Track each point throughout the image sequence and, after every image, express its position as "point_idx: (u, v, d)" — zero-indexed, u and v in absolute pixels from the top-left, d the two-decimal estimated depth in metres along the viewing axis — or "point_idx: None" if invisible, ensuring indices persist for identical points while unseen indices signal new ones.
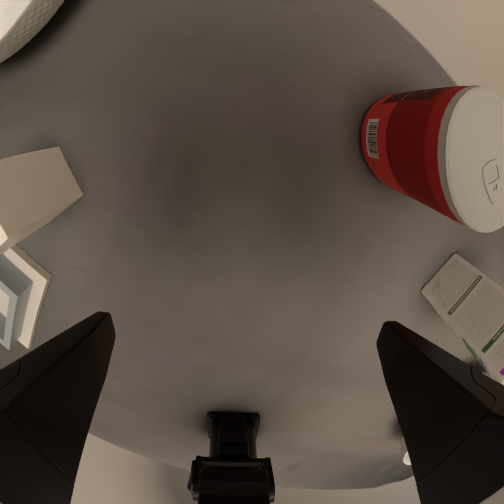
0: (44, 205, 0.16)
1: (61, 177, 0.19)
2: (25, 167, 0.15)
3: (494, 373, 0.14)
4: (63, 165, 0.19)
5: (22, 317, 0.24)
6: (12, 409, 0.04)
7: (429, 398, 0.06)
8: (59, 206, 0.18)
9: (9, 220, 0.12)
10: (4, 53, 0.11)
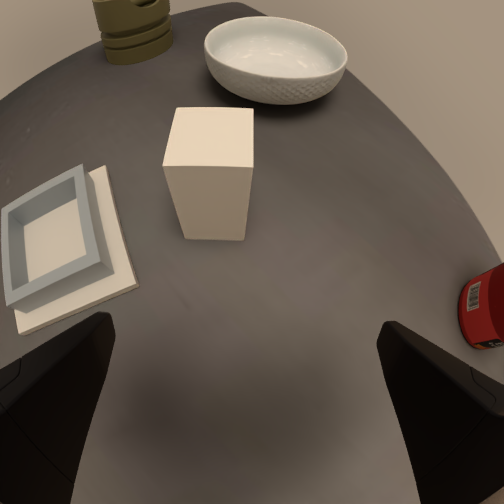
0: None
1: None
2: None
3: None
4: None
5: (57, 295, 0.20)
6: (12, 409, 0.04)
7: (429, 398, 0.06)
8: (246, 218, 0.21)
9: None
10: (262, 90, 0.26)
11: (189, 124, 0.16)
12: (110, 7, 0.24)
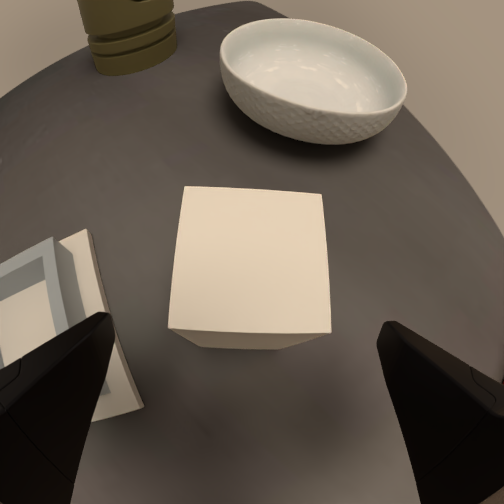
0: None
1: None
2: None
3: None
4: None
5: None
6: (12, 409, 0.04)
7: (429, 398, 0.06)
8: (291, 344, 0.14)
9: None
10: (305, 126, 0.19)
11: (209, 228, 0.10)
12: (96, 3, 0.17)
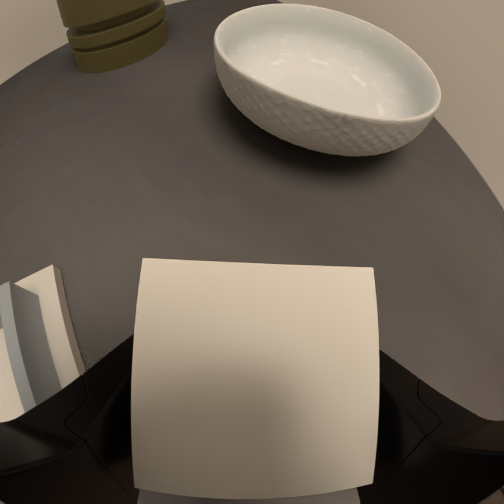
0: None
1: None
2: None
3: None
4: None
5: None
6: (87, 437, 0.04)
7: None
8: None
9: None
10: (323, 134, 0.14)
11: (186, 342, 0.05)
12: None
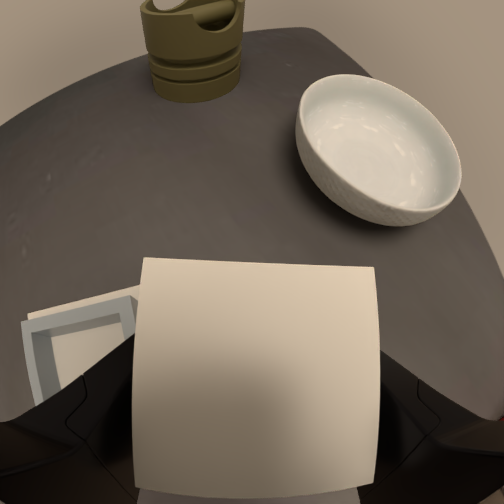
0: None
1: None
2: None
3: None
4: None
5: None
6: (87, 437, 0.04)
7: None
8: None
9: None
10: (371, 214, 0.21)
11: (187, 341, 0.05)
12: (165, 24, 0.20)
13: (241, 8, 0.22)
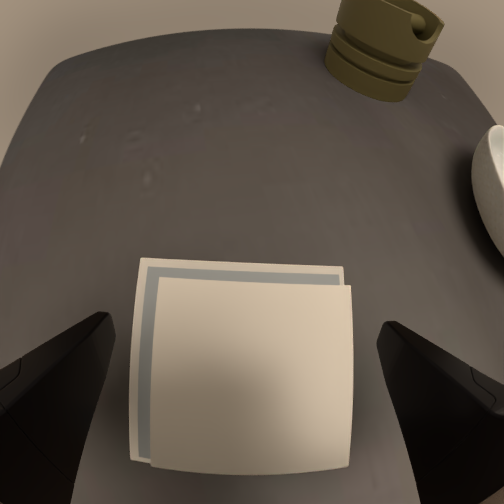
0: None
1: None
2: None
3: None
4: None
5: None
6: (12, 409, 0.04)
7: (429, 398, 0.06)
8: None
9: None
10: None
11: (195, 345, 0.07)
12: (381, 11, 0.17)
13: (441, 29, 0.18)
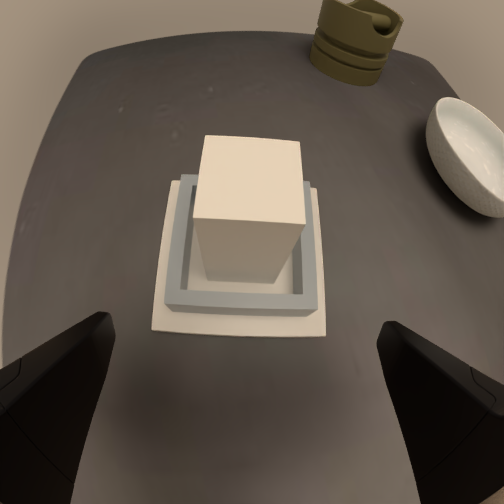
0: None
1: None
2: None
3: None
4: None
5: (232, 313, 0.20)
6: (12, 409, 0.04)
7: (429, 398, 0.06)
8: None
9: None
10: (473, 194, 0.23)
11: (222, 159, 0.14)
12: (348, 15, 0.25)
13: None
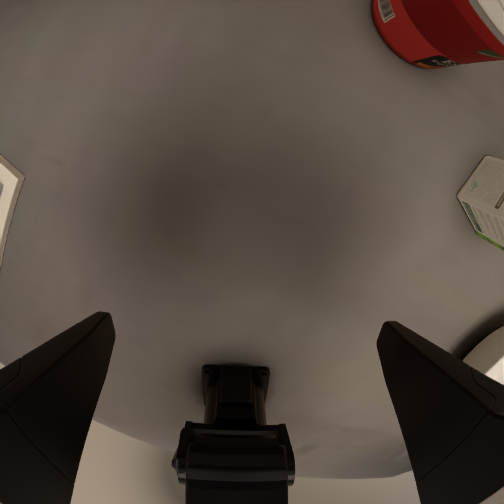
0: None
1: None
2: None
3: None
4: None
5: None
6: (12, 409, 0.04)
7: (429, 398, 0.06)
8: None
9: None
10: None
11: None
12: None
13: None
